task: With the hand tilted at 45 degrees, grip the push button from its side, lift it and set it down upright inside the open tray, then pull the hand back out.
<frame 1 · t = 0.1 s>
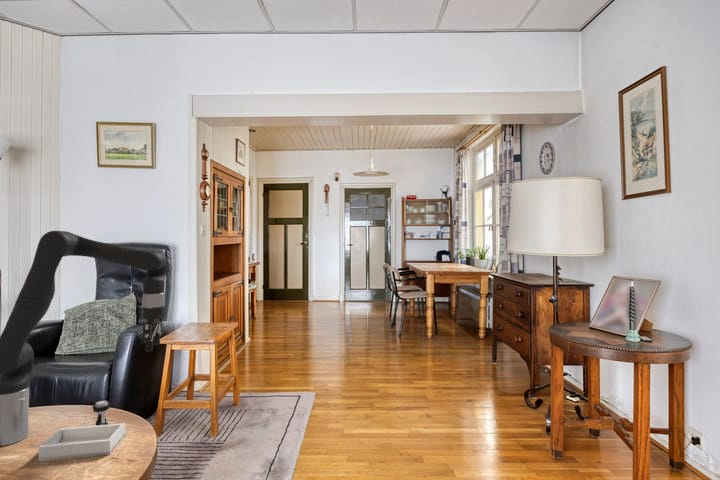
hand: (152, 348, 138), 29 cm above the table, tool pointing down, fingers open, 8 cm apart
tray: (84, 447, 123), on the table
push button: (101, 430, 135), on the table
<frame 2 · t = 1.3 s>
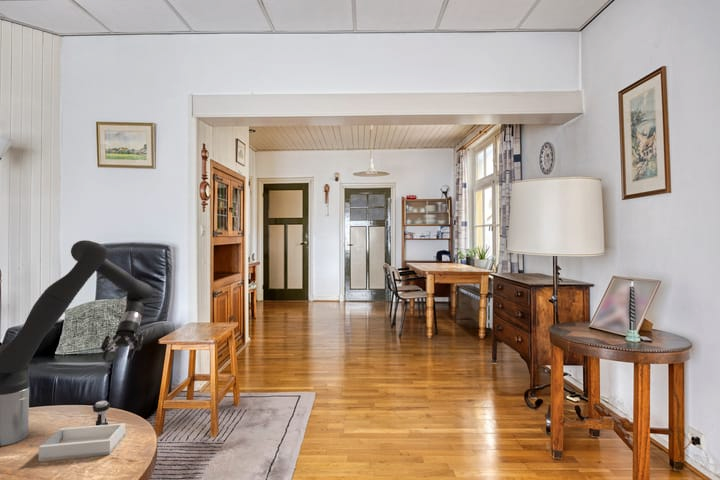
hand: (117, 359, 146), 22 cm above the table, tool tilted 45°, fingers open, 8 cm apart
nothing on the table moved.
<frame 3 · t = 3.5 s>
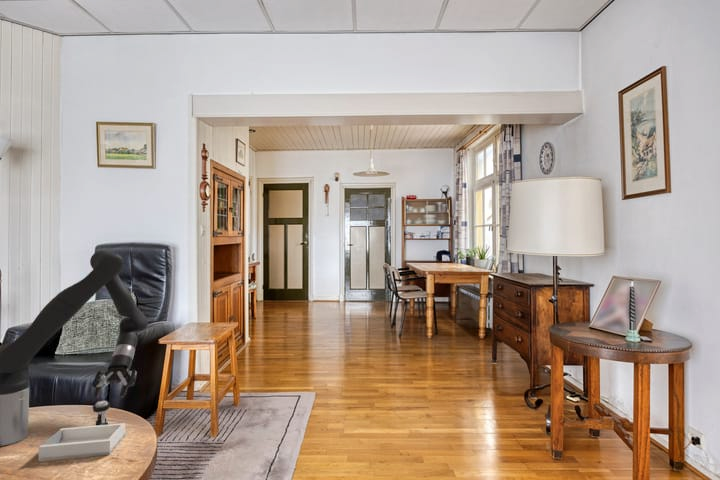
hand: (109, 397, 140), 10 cm above the table, tool tilted 45°, fingers open, 8 cm apart
nothing on the table moved.
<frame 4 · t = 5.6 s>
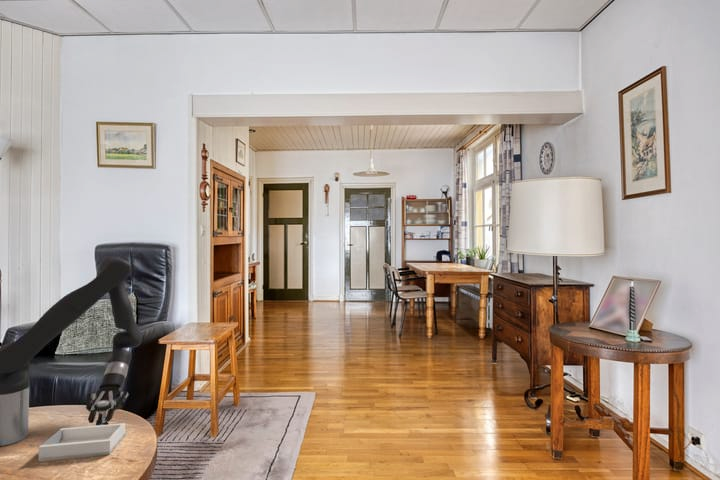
hand: (99, 421, 133), 4 cm above the table, tool tilted 45°, fingers closed on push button, 4 cm apart
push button: (101, 430, 135), on the table, touching gripper
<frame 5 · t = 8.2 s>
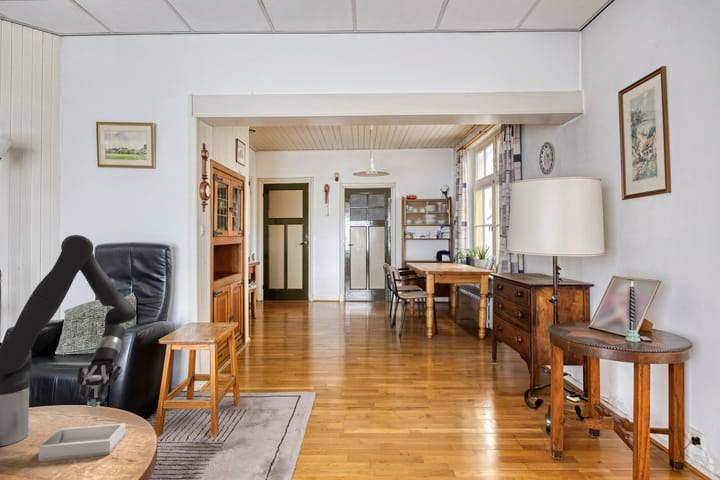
hand: (91, 396, 127), 16 cm above the table, tool tilted 45°, fingers closed on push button, 4 cm apart
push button: (94, 406, 129), point 11 cm above the table, touching gripper
when the fingers open (6 cm above the table, at t = 10.9 s): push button drops 1 cm, resting on tray.
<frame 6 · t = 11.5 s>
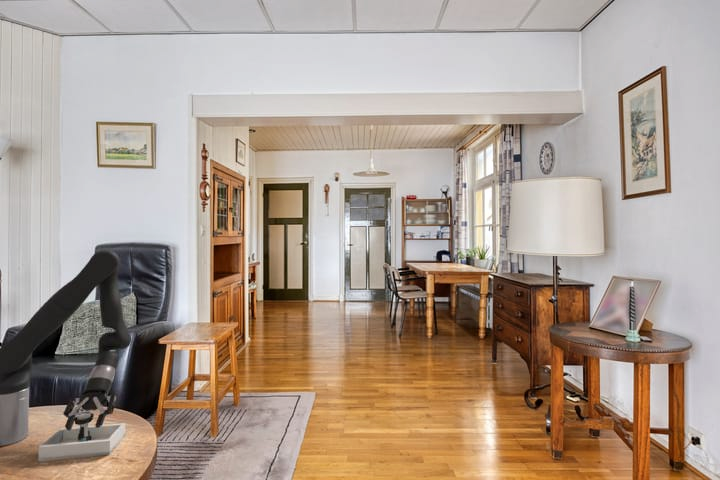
hand: (82, 428, 122), 7 cm above the table, tool tilted 45°, fingers open, 8 cm apart
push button: (84, 444, 124), point 1 cm above the table, touching tray
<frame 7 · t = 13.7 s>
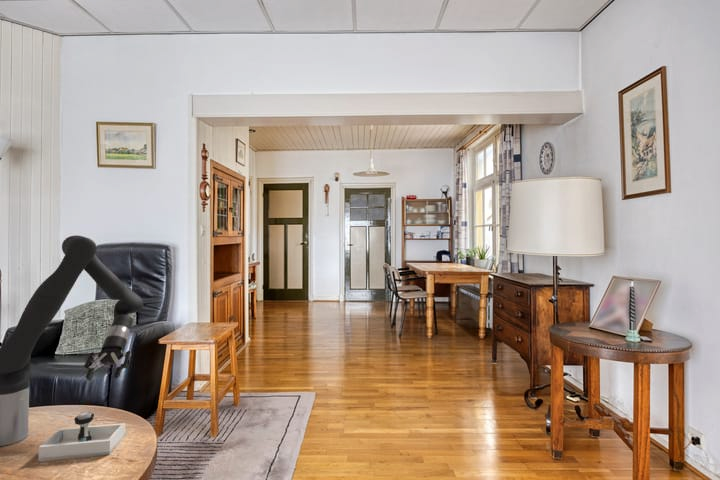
hand: (101, 379, 135), 19 cm above the table, tool tilted 45°, fingers open, 8 cm apart
nothing on the table moved.
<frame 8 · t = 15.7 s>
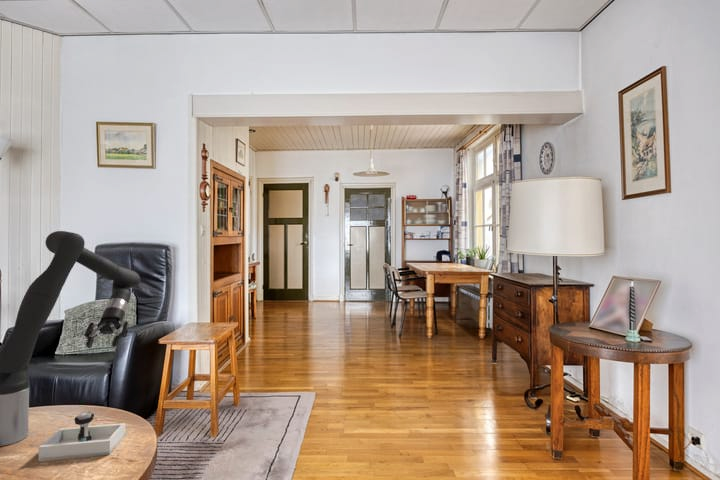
hand: (101, 346, 142), 29 cm above the table, tool tilted 45°, fingers open, 8 cm apart
nothing on the table moved.
at the end: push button inside the target area on the tray (0.4 cm from its centre), point 0.8 cm above the tray's base; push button tilted 0°; the gripper is holding nothing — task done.
